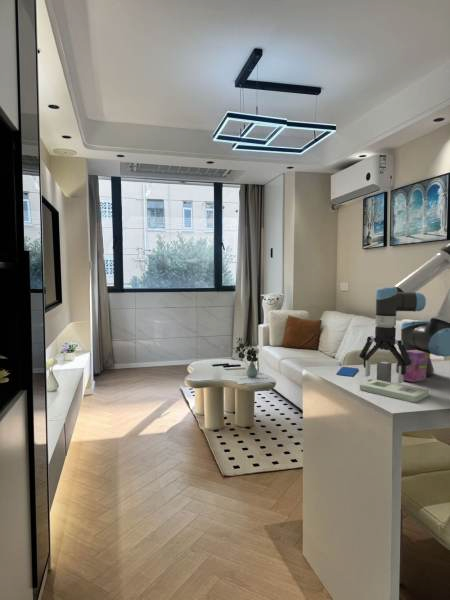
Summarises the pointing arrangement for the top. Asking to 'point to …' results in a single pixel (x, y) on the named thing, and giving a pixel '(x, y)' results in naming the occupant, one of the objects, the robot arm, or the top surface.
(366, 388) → the outlet plate
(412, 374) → the box
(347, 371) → the smartphone
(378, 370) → the block
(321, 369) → the top surface
